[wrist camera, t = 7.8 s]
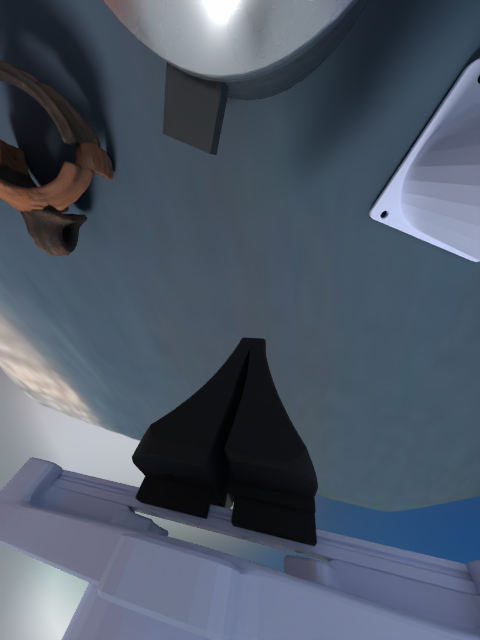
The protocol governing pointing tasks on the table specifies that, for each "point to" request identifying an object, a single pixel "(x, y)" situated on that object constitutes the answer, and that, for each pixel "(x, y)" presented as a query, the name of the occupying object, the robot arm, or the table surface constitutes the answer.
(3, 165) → the pottery mug
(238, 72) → the cooker lid
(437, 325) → the table surface
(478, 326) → the table surface
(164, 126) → the cooker pot
